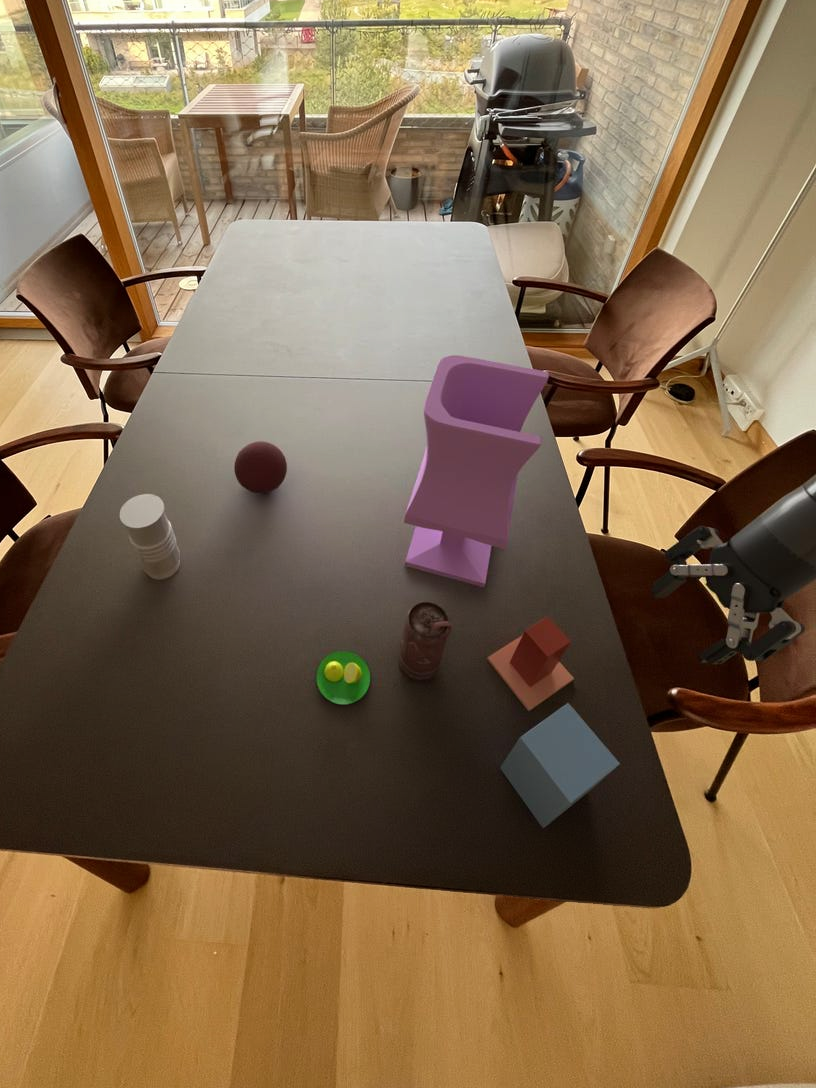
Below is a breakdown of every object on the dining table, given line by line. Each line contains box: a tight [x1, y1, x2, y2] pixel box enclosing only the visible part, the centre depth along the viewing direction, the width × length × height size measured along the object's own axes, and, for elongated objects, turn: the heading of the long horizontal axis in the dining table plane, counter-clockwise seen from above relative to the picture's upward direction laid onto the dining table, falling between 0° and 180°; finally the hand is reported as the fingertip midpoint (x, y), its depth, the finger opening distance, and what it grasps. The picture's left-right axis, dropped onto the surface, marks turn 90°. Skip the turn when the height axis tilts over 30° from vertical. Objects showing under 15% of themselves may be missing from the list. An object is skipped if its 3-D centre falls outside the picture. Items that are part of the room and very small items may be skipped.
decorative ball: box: [233, 440, 288, 495], centre depth 109 cm, size 10×10×10 cm
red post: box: [510, 616, 572, 687], centre depth 82 cm, size 4×4×10 cm
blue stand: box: [500, 702, 621, 829], centre depth 71 cm, size 8×8×12 cm
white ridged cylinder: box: [119, 493, 181, 580], centre depth 94 cm, size 7×7×15 cm
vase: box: [403, 354, 550, 588], centre depth 90 cm, size 16×16×35 cm
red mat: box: [486, 634, 575, 712], centre depth 86 cm, size 9×9×1 cm
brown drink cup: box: [397, 601, 453, 684], centre depth 82 cm, size 6×6×14 cm
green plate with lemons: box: [316, 650, 371, 705], centre depth 84 cm, size 8×8×3 cm
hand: (679, 626), depth 67 cm, fingers open, 8 cm apart
